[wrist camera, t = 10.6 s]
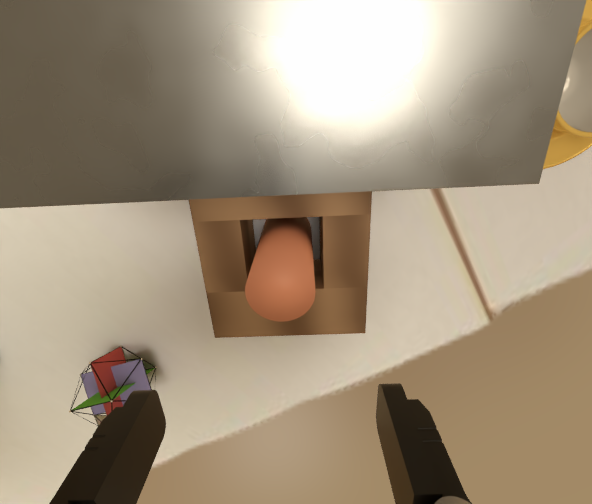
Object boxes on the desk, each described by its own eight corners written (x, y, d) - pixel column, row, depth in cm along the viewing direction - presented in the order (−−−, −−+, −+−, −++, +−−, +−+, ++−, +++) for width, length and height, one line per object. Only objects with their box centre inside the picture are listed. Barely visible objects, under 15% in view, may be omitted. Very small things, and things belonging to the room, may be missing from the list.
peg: (266, 253, 28) (249, 322, 19) (261, 209, 27) (241, 262, 18) (311, 251, 28) (316, 320, 19) (310, 207, 27) (314, 259, 17)
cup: (425, 95, 23) (458, 92, 18) (579, -75, 19) (674, -137, 14) (523, 200, 26) (574, 221, 21) (673, 71, 22) (778, 61, 18)
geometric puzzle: (61, 346, 30) (43, 444, 26) (125, 328, 29) (116, 427, 25) (117, 359, 36) (109, 439, 32) (171, 344, 35) (170, 426, 31)
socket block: (227, 303, 30) (215, 337, 26) (198, 120, 24) (174, 124, 19) (355, 298, 30) (365, 332, 26) (361, 111, 24) (375, 113, 19)
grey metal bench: (164, 150, 25) (-16, 208, 11) (122, -52, 20) (-314, -436, 6) (400, 138, 24) (539, 183, 10) (416, -73, 19) (731, -561, 5)
